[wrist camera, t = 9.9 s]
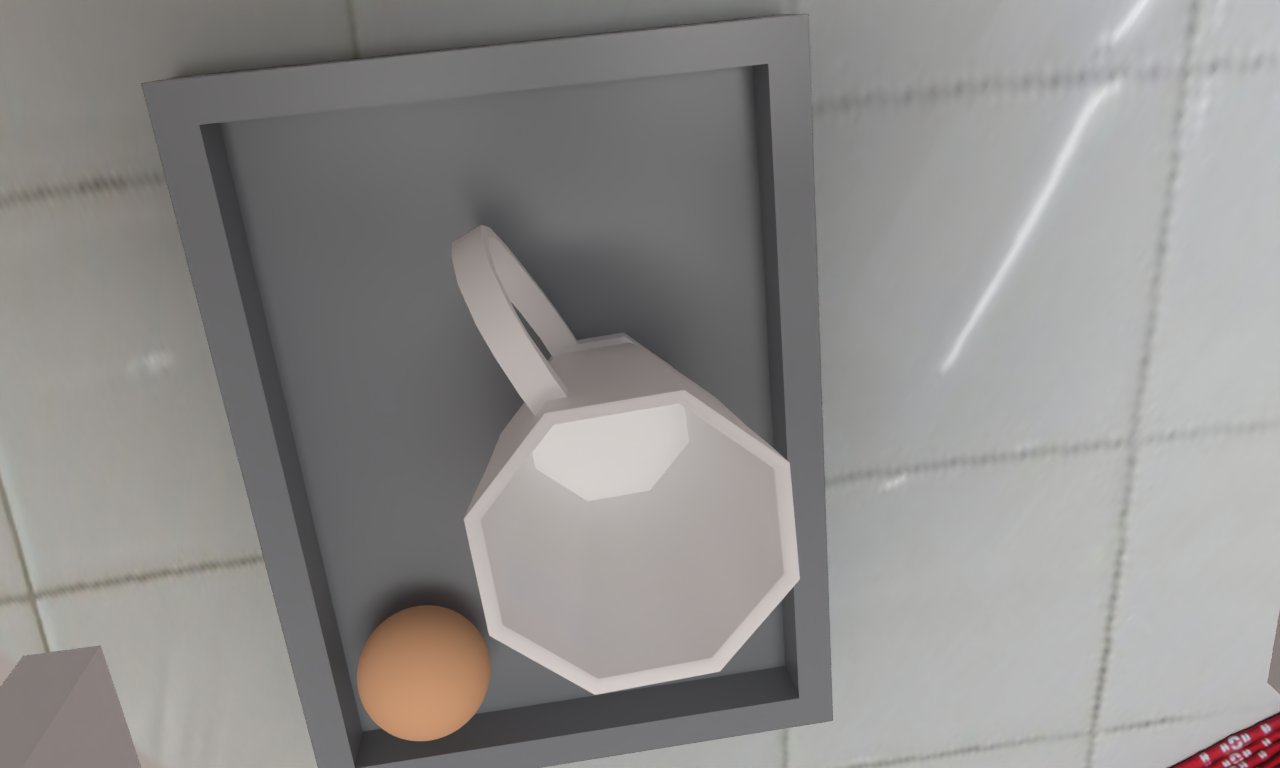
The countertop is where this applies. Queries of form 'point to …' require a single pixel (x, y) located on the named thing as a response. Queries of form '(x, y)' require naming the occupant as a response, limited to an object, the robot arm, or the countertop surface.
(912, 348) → the countertop surface
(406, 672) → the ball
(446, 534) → the tray
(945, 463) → the countertop surface
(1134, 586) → the countertop surface
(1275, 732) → the dish towel
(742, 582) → the cup
